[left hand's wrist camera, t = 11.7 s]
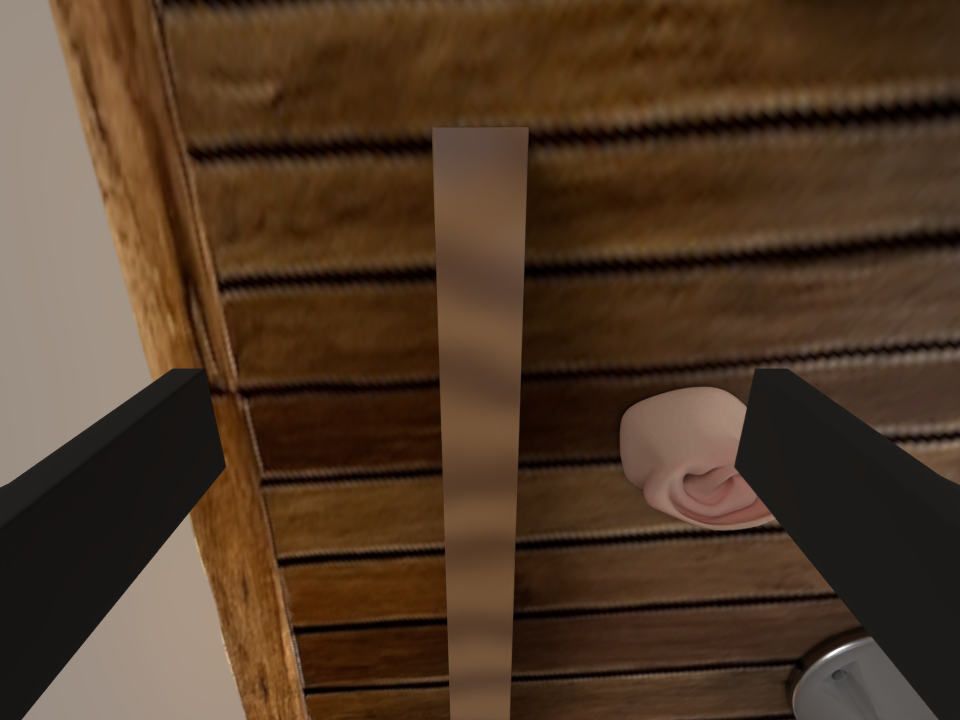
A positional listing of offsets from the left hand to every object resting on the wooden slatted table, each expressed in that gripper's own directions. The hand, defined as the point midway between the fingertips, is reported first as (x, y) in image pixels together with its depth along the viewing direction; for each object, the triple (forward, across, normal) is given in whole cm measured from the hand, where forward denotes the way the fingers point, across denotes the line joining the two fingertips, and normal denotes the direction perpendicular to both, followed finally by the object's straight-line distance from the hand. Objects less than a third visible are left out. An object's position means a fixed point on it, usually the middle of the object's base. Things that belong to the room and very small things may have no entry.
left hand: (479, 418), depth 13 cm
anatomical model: (+25, +18, -17) cm, 35 cm away
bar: (+25, 0, -27) cm, 37 cm away
